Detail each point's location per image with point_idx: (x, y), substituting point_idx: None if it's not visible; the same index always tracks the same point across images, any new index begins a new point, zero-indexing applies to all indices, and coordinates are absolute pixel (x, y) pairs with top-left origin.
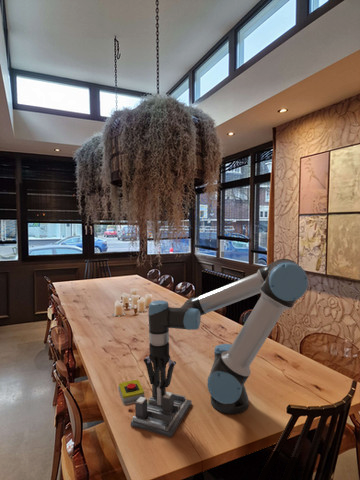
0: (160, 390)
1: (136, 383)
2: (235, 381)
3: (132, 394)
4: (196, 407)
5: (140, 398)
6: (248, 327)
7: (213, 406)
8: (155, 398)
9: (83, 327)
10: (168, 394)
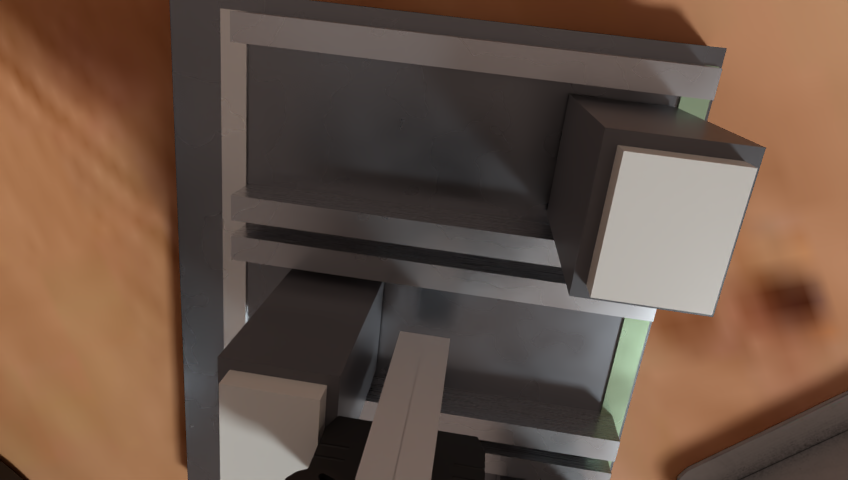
0: (359, 467)
1: None
2: None
3: None
4: (148, 449)
5: (694, 261)
6: None
7: (8, 474)
8: (536, 467)
9: None
10: (259, 443)
